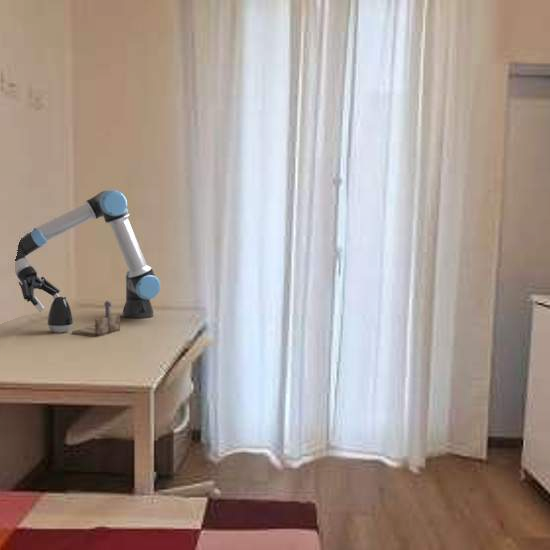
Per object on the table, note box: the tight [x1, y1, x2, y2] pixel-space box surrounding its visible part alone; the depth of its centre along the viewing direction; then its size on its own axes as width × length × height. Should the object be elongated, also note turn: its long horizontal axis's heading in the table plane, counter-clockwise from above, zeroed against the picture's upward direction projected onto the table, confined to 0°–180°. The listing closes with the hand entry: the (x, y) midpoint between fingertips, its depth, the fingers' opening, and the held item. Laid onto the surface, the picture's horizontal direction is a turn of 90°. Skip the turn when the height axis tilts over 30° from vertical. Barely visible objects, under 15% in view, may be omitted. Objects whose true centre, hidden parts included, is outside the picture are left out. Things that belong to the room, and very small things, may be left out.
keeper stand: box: [71, 300, 121, 337], centre depth 277 cm, size 16×14×14 cm
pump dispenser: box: [47, 296, 74, 334], centre depth 276 cm, size 10×10×15 cm
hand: (53, 308), depth 276 cm, fingers open, 13 cm apart
